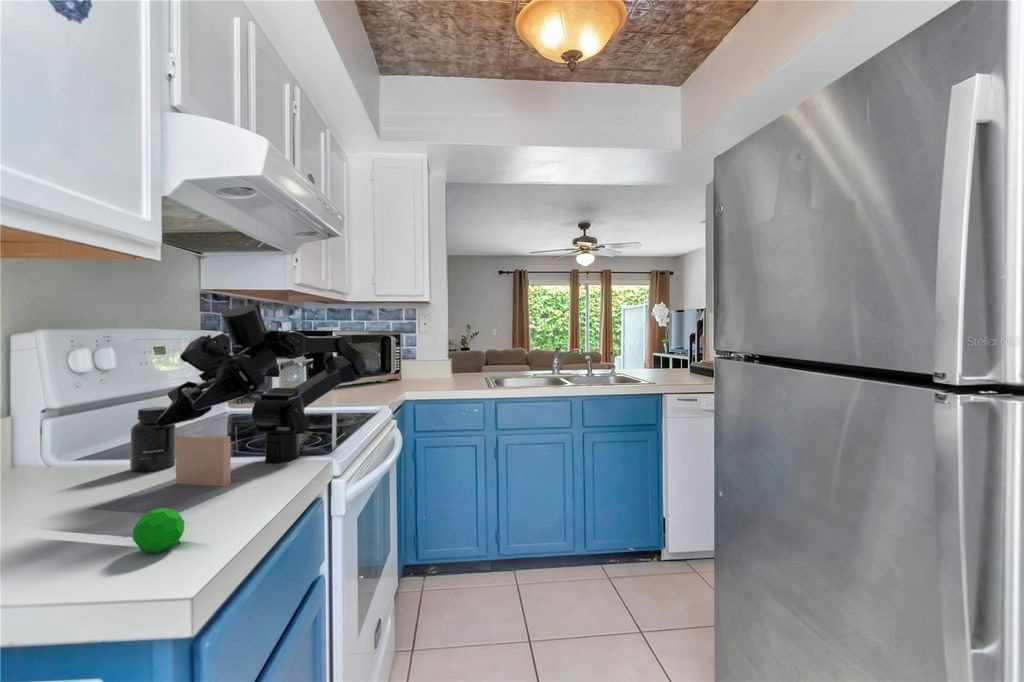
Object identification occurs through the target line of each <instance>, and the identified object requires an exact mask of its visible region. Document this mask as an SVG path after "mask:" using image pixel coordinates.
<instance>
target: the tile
mask: <svg viewBox="0 0 1024 682" xmlns="http://www.w3.org/2000/svg"><path fill="white" fill-rule="evenodd" d="M231 446H232V445H231V436H230V435H210V434H209V435H205V434H204V435H203V434H187V433H186V434H185V433H184V434H178V435H177V436H176V444H175V478H176V484H192V485H209V486H226V485H228V484H230V483H231V479H232V477H231V475H232V473H231V466H232V464H231V462H232V460H231V457H232V456H231V455H232V454H231Z"/></svg>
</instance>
